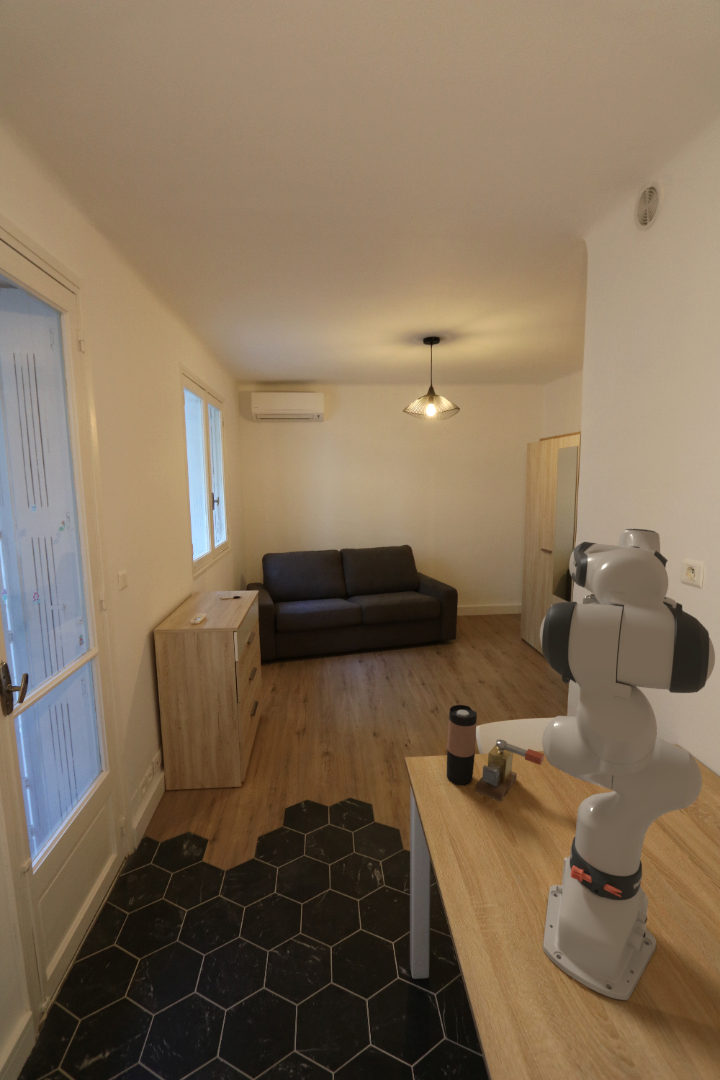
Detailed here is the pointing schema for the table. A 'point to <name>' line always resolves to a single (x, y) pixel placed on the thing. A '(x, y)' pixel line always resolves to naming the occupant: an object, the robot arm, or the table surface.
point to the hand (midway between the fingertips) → (627, 656)
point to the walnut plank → (493, 791)
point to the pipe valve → (497, 767)
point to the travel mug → (461, 744)
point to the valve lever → (521, 752)
